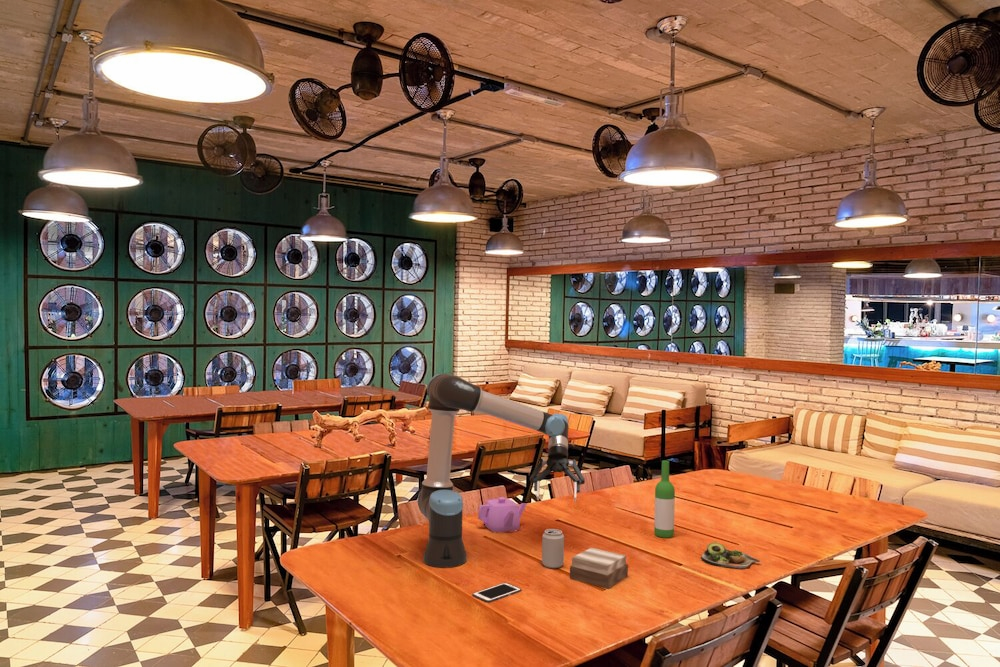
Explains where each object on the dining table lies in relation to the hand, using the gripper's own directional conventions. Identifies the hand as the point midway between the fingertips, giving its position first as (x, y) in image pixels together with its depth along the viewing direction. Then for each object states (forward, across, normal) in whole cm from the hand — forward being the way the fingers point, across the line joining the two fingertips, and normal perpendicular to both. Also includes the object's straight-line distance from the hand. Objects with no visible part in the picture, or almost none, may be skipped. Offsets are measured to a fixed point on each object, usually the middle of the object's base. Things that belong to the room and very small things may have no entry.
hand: (556, 499), depth 246 cm
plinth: (+29, -15, 0) cm, 32 cm away
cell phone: (+42, +17, +13) cm, 47 cm away
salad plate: (+12, -61, -19) cm, 65 cm away
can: (+22, +1, -7) cm, 23 cm away
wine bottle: (-7, -42, -37) cm, 56 cm away
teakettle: (-7, +23, -36) cm, 43 cm away
